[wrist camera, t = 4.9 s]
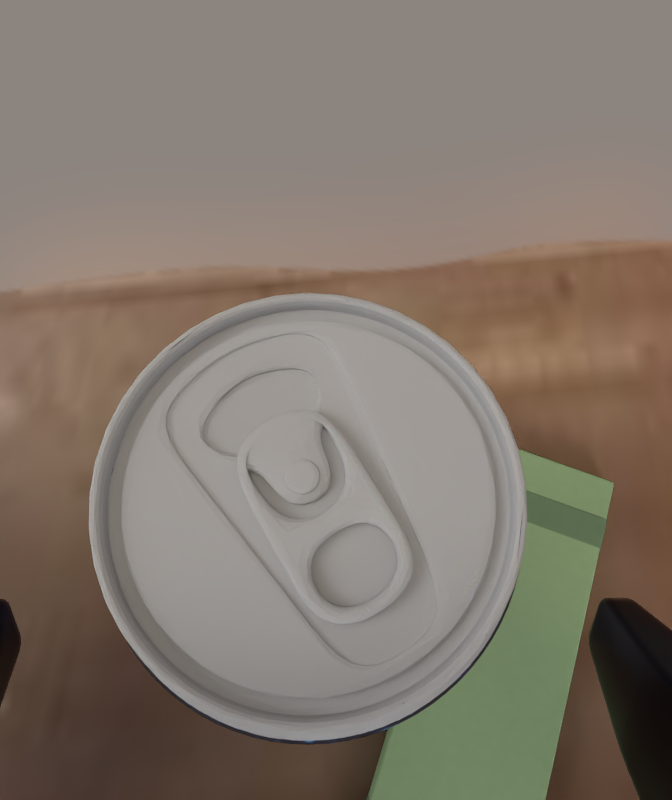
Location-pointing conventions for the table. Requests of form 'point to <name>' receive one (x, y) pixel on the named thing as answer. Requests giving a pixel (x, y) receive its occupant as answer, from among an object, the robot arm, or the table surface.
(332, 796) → the table surface
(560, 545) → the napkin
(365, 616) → the beverage can
